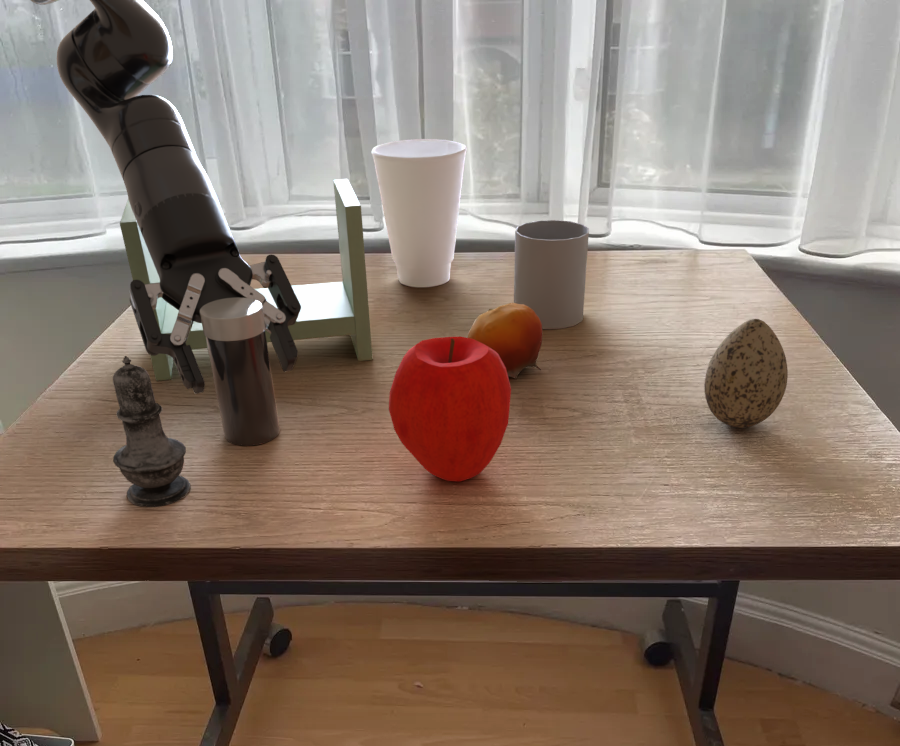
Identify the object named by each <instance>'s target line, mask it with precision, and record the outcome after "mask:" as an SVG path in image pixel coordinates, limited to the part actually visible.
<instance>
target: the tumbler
mask: <svg viewBox="0 0 900 746" xmlns="http://www.w3.org/2000/svg"><path fill="white" fill-rule="evenodd" d="M200 317H201V322H202V327H203V333H204V335H205V337H206V342H207V347H208V348H207V352H208V358H209V364H210V369H211V374H212V378H213V384H214V389H215V394H216V400H217V405H218V410H219V415H220V421H221V425H222V431H223V436H224V439H225V440H226V441H227V442H228V443H230V444H232V445H235V446H243V447H245V446H246V447H248V446H257V445H262V444H267V443H268V442H271V441H272V440H274V439H276V438H277V437H278V436H279V434H280V431H281V428H280V422H279V415H278V407H277V402H276V401H277V400H276V394H275V388H274V381H273V374H272V373H273V372H272V368H271V361H270V354H269V353H270V352H269V348H268V347H269V346H268V343H267V340H266V333H265V328H266V325H265V318H264V312H263V305H262V303H261V302H259V301H258V300H255V299H250V298H239V297H238V298H225V299H220V300H216V301H212V302H210V303H207V304H205V305H204V306H202V307H201V309H200Z"/></svg>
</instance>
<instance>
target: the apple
mask: <svg viewBox="0 0 900 746" xmlns="http://www.w3.org/2000/svg"><path fill="white" fill-rule="evenodd" d="M511 397H512V385H511V383H510V377H508V374H507V370H506V367H505V365H504V364H503V362H502V360H501V358H500V356H499V355H498V353H497V352H495V351H494V350H493V349H491V348H489V347H488V346H486V345H484V344H482V343H480V342H478V341H476V340H474V339H471V338H467V337H466V336H460V335H459V336H458V335H457V336H442V337H441V336H440V337H432V338H428V339H423V340H420V341H419V342H417V343H416V344H415V345H413V346H412V347H410V348H409V349H408V350H407V351H406V353H404V355H403V356H402V359H401V361H400V363H399V364H398V367H397V369H396V371H395V374H394V377H393V380H392V383H391V387H390V389H389V394H388V412H389V415H390V419H391V422H392V426H393V430H394V432H395V434H396V435H397V437H398V439H399V441H400V443H401V444H402V445H403V446H404V447H405V449H406V450H407V451H408V452H409V453H410V454H411V455H412V456H413V458H415V460H416V461H417V462H418V463H419V465H420V466H421V467H423V468H424V470H425V471H427V472H428V473H430V474H431V475H432V476H435V477H437V478H439V479H442V480H445V481H447V482H462V481H463V482H464V481H466V480H470V479H472V478H475V477H476V476H478V475H480V474H481V473H482V472H483V471H484V470H485V469H486V468H487V466H488V465H489V464H490V463H491V461H492V460H493V458H494V457H495V454H497V451H498V450H499V448H500V447H501V445H502V442H503V439H504V436H505V433H506V431H507V429H508V425H509V420H510V418H509V417H510V408H511Z"/></svg>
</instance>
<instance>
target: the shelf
mask: <svg viewBox="0 0 900 746" xmlns="http://www.w3.org/2000/svg"><path fill="white" fill-rule="evenodd" d="M332 182H333V191H334V192H333V193H334V202H335V203H334V204H335V213H336V214H335V215H336V224H337V225H336V226H337V236H338V246H339V247H338V248H339V259H340V267H341V268H340V269H341V279H342V280H341V281H333V282H320V283H319V282H318V283H310V284H296V285H291V286H292V288H293V290H294V292H295V294H296V297H297V299H298V301H299V303H300V305H301V310H300V313H299V315H298V317H297V320H296V322H295V324H294V325H289V326H288V329H289V331H290V334H291V336H292V338H293V341H300V340H311V339H320V338H333V337H342V336H343V337H344V336H350V339H351V342H352V345H353V348H354V349H353V350H354V352H355V354H356V359H357V361H358V362H363V361H365V362H366V361H373V360H374V358H373V346H372V332H371V317H370V305H369V294H368V291H369V290H368V279H367V278H368V277H367V267H366V254H365V253H366V252H365V240H364V239H365V238H364V227H363V214H362V213H363V212H362V205H361V203H360V201H359V199H358V197H357V195H356V192H355V191H354V189H353V186H352V185H351V183H350V181H349V179H348V178H340V179H333V181H332ZM119 227H120V232H121V235H122V240H123V244H124V248H125V253H126V257H127V262H128V266H129V270H130V274H131V278H132V281H133V280H140V281H142V282H143V283H144V284H151V283H159V282H160V278H159V275H158V273H157V270H156V268H155V265H154V263H153V261H152V258H151V256H150V253H149V251H148V248H147V246H146V243H145V241H144V238H143V236H142V233H141V231H140V228H139V226H138V223H137V221H136V218H135V216H134V213H133V211H132V208H131V205H130V202H129V198H128V197H127V200H126V204H125V206H124V209H123V212H122V215H121V218H120V222H119ZM254 289H255V290H257V291H258V292H259V293H261V294H262V295H263V296H264V297H265V298H266V300H267V302H269V303H270V304H272V305H273V306H274V307H276V308H277V306H276V304H275V302H274V299H273V297H272V295H271V293H270V291H269V289H268V288H263V287H260V288H254ZM277 309H278V308H277ZM153 311H154V314H155V317H156V320H157V323H158V326H159V329H160V333H162V334H171V333H172V330H173V328H174V325H175V322H176V319H177V315H178V312H179V310H177V309H176V308H174V307H173V306H172V305H170V304H169V303H167V302H166V301H165V300H164V299H163V298H162V297H160V298H158V299H157V307H156V309H155V310H153ZM265 333H266V340H267V344H268V343H272V342H271V340H270V335H271V334H270V333H269V332H267V331H266V330H265ZM186 345H190V347H191V349H192V351H193V350H203V349H208V347H207V342H206V337H205V335H204V333H203V327H202V323H197V322H195V321H194V322H193V325H192V328H191V331H190V334H189V337H188V338H187V341H186ZM149 357H150V360H151V365H152V370H153V374H154V378H155V381H156V382H158V381H167V380H168V381H169V380H172V377H173V376H172V375H173V366H174V360H173V358H172V357H171V356H169V355H167V354H158V355H155V356H152V355H149Z"/></svg>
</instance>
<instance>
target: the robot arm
mask: <svg viewBox="0 0 900 746" xmlns="http://www.w3.org/2000/svg"><path fill="white" fill-rule="evenodd" d="M30 1H31V2H32V3H34V4H36V5H40V6H45V5H50V4H53V3H54V4H55V3H56V2H58V1H59V0H30ZM89 2H90V3H91V4H92V5H93V7H94V9H93V10H92V11H91V12H90V13H89V14H88V15H87V16H86V17H84V18H83V19H82V20H81V21H80V22H79V23H78V24H77V25H75V26H74V27H73V28H72V29H71V30H70V31H69V32H68V33H66V35H65V36H63V38H62V39H61V41H60V42H59V44H58V47H57V49H56V50H57V51H56V66H57V67H56V68H57V72H58V74H59V77H60V80H61V81H62V84H63V85H64V87H65V88H66V89H67V91H68V92H69V94H70V95H71V96H72V97H73V99H74V100H75V101H76V102H77V103H78V104H79V106H80V107H81V108H82V109H83V111H84V112H85V114H87V116H88V117H89V118H90V120H91V122H92V123H93V124H94V126H95V127H96V129H97V130H98V131H99V133H100V134H101V136H102V137H103V139H104V141H105V142H106V144H107V145H108V147H109V148H110V151H111V154H112V156H113V158H114V161H115V163H116V165H117V168H118V171H119V173H120V176H121V178H122V181H123V183H124V186H125V190H126V193H127V199H128V198H129V202H130V205H131V208H132V211H133V213H134V216H135V218H136V221H137V223H138V226H139V228H140V231H141V233H142V236H143V238H144V241H145V243H146V246H147V248H148V251H149V253H150V256H151V258H152V261H153V263H154V265H155V268H156V270H157V273H158V275H159V278H160V282H159V283H151V284H144V283H143V282H142V281H140V280H133V279H132V281H131V282H130V285H129V303H130V306H131V309H132V312H133V315H134V319H135V321H136V325H137V328H138V330H139V333H140V337H141V339H142V342H143V346H144V348H145V352H146V353H147V354H148V355H149V356H150V355H152V356H155V355H158V354H167V355H169V356H171V357H172V358H173V363H174V364H175V367H176V369H177V372H178V375H179V377H180V380H181V382H182V384H183V386H184V387H185V388H186V389H187V390H190V389H192V391H193V393H194V395H197V394H201V393H204V391H205V387H206V383H205V379H204V377H203V374H202V371H201V369H200V367H199V364H198V361H197V359H196V357H195V354H194V352H193V350H192V349H191V347H190V345H186V341H187V338H188V337H189V334H190V331H191V328H192V325H193V322H194V321H195V322H197V323H202V322H201V317H200V309H201V307H202V306H204V305H205V304H207V303H210V302H212V301H216V300H220V299H225V298H238V297H239V298H250V299H255V300H258V301H259V302H261V303H262V305H263V312H264V318H265V325H266V328H265V330H266V331H267V332H269V333H270V334H271V335H270V340H271V342H270V343H271V345H272V347H273V349H274V352H275V354H276V357H277V359H278V362H279V364H280V366H281V369H282V371H283V372H284V373H287V372H290V371H293V369H294V367H295V364H296V361H297V359H298V357H299V352H298V348H297V345H296V343H295V340H293V338H292V336H291V334H290V331H289V329H288V326H289V325H294V324H295V322H296V320H297V317H298V315H299V313H300V310H301V305H300V303H299V301H298V299H297V297H296V294H295V292H294V290H293V288H292V286H293V285H292V283H291V282H290V280H289V278H288V275H287V274H286V272H285V270H284V267H283V265H282V263H281V261H280V259H279V258H278V256H277V255H275V254H268V255H267V256H266V257H265V260H264V261H262V262H258V263H253V264H250V265H249V263H247V261H245V260H244V259H243V258H242V256H241V254H240V251H239V248H238V246H237V243H236V240H235V238H234V236H233V233H232V230H231V228H230V226H229V223H228V220H227V218H226V216H225V214H224V211H223V209H222V205H221V204H220V198H219V195H218V194H217V193H218V192H216V191H215V189H214V187H213V184H212V182H211V180H210V177H209V176H208V174H207V173H206V170H205V169H204V167H203V166H202V164H201V161H200V160H199V158H198V154H197V152H196V150H195V148H194V145H193V143H192V139H191V138H190V135H189V134H188V131H187V129H186V125H185V123H184V121H183V119H182V117H181V115H180V113H179V112H178V110H177V108H176V107H175V106H174V105H173V104H172V103H171V102H170V101H169V100H167V99H166V98H164V97H162V96H159V95H156V94H141V93H143V92H144V91H145V90H146V89H148V87H150V86H151V85H152V84H154V83H155V82H156V81H158V79H160V78H161V77H162V76H163V75H164V74H166V73H167V71H168V70H169V69H170V67H171V65H172V63H173V57H174V55H173V54H174V53H173V52H174V51H173V45H172V40H171V37H170V35H169V31H168V29H167V27H166V26H165V23H164V22H163V20H162V19H161V18H160V16H159V15H158V14H157V13H156V12H155V11H154V10H153V9H152V8H151V7H150V6H149V4H147V2H145V1H144V0H89ZM140 94H141V95H140ZM252 280H255V281H257V282H258V283H259V284H260V286H262V288H268V289H269V291H270V293H271V295H272V297H273V299H274V302H275V304H276V306H277V308H278V309H277V308H276V307H274V306H273V305H272V304H270V303H269V302H267V300H266V298H265V297H264V296H263V295H262V294H261V293H259V292H258V291H257V290H255V289H256V288H254V287H252V286H251V283H252ZM160 297H162V298H163V299H164V300H165V301H166V302H167V303H169V304H170V305H172V306H173V307H174V308H176V309H177V310H179V312H178V315H177V319H176V322H175V325H174V328H173V330H172V333H171V334H162V333H160V329H159V326H158V323H157V320H156V317H155V314H154V311H153V310H155V309H156V307H157V299H158V298H160Z"/></svg>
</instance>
